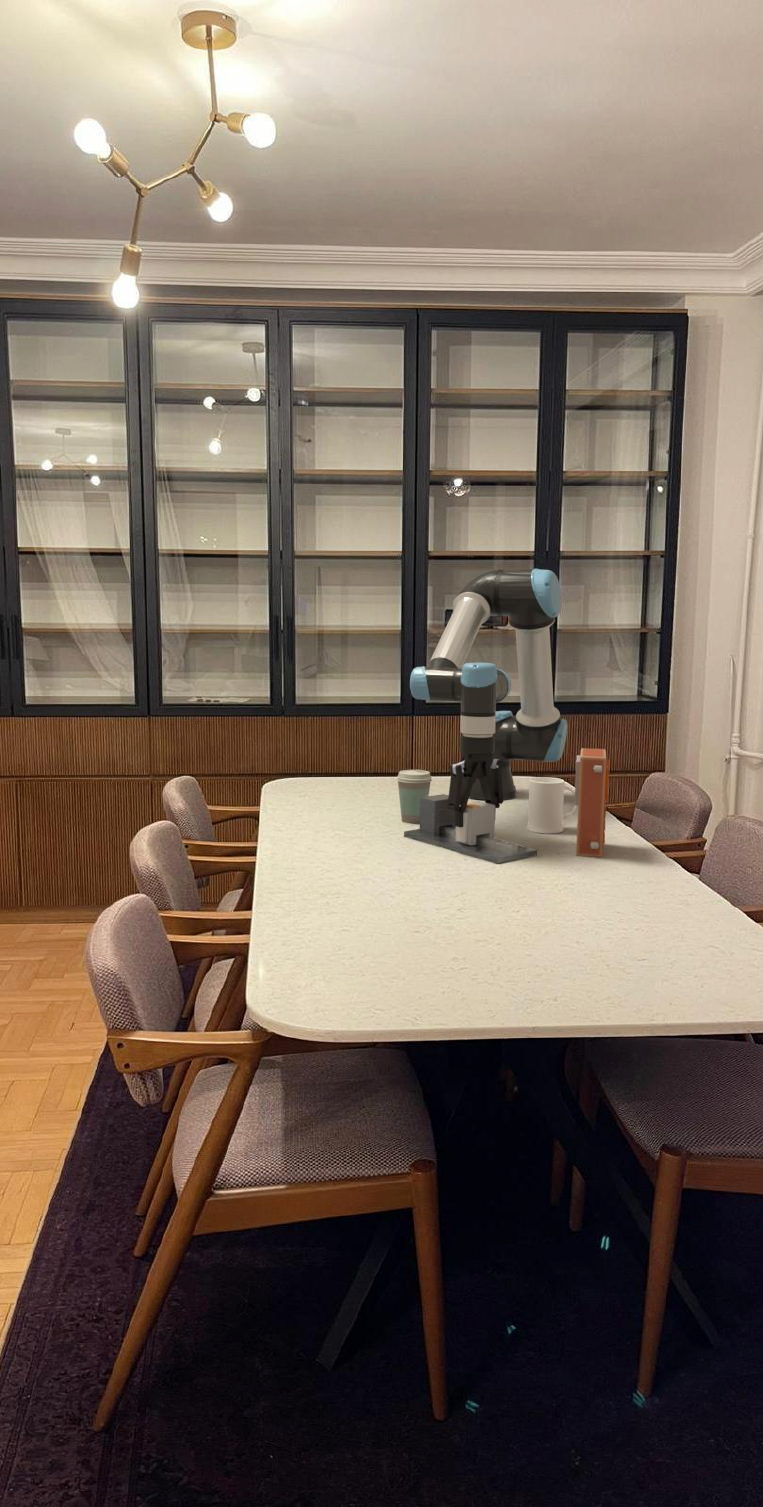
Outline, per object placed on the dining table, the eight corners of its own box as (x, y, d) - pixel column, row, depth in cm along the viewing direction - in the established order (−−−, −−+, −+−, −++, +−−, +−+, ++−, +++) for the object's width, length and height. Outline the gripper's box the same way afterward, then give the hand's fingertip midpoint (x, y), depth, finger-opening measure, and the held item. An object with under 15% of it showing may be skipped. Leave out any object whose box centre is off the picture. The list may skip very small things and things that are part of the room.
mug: (574, 826, 249) (576, 777, 248) (579, 834, 241) (581, 783, 239) (525, 825, 250) (526, 776, 248) (528, 833, 241) (530, 782, 240)
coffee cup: (431, 824, 250) (432, 775, 248) (396, 824, 250) (396, 774, 248) (430, 817, 258) (431, 769, 256) (396, 816, 258) (396, 769, 257)
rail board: (403, 836, 237) (404, 796, 235) (443, 829, 244) (444, 791, 243) (497, 863, 214) (498, 819, 212) (537, 855, 221) (538, 812, 220)
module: (455, 841, 227) (455, 803, 226) (478, 836, 231) (479, 799, 230) (470, 845, 223) (471, 807, 222) (494, 840, 227) (495, 803, 226)
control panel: (604, 842, 233) (605, 858, 219) (573, 841, 235) (571, 856, 220) (609, 748, 230) (609, 758, 215) (576, 747, 231) (575, 757, 217)
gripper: (498, 729, 233) (495, 829, 236) (430, 736, 220) (428, 841, 224) (522, 733, 227) (519, 835, 230) (454, 740, 215) (452, 848, 218)
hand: (474, 838), depth 227 cm, fingers open, 7 cm apart
